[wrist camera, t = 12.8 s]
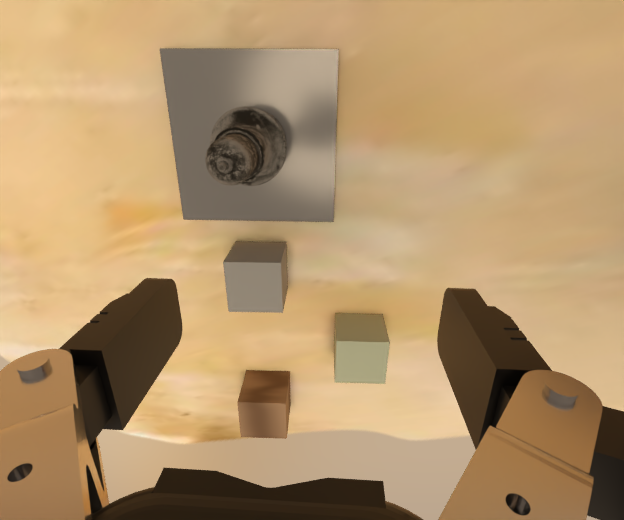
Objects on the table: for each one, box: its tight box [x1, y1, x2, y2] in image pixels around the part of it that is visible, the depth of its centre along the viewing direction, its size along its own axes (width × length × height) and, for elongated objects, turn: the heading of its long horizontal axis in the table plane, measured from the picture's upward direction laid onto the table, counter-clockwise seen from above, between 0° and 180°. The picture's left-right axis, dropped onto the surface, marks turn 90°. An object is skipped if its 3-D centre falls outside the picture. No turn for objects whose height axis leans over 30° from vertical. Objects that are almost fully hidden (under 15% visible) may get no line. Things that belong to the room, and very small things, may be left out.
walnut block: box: [238, 370, 290, 438], centre depth 42 cm, size 5×5×5 cm
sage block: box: [334, 313, 390, 384], centre depth 39 cm, size 5×5×5 cm
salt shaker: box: [205, 107, 287, 186], centre depth 27 cm, size 6×6×12 cm
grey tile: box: [160, 49, 339, 222], centre depth 33 cm, size 14×14×1 cm
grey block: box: [223, 241, 288, 313], centre depth 36 cm, size 5×5×5 cm
